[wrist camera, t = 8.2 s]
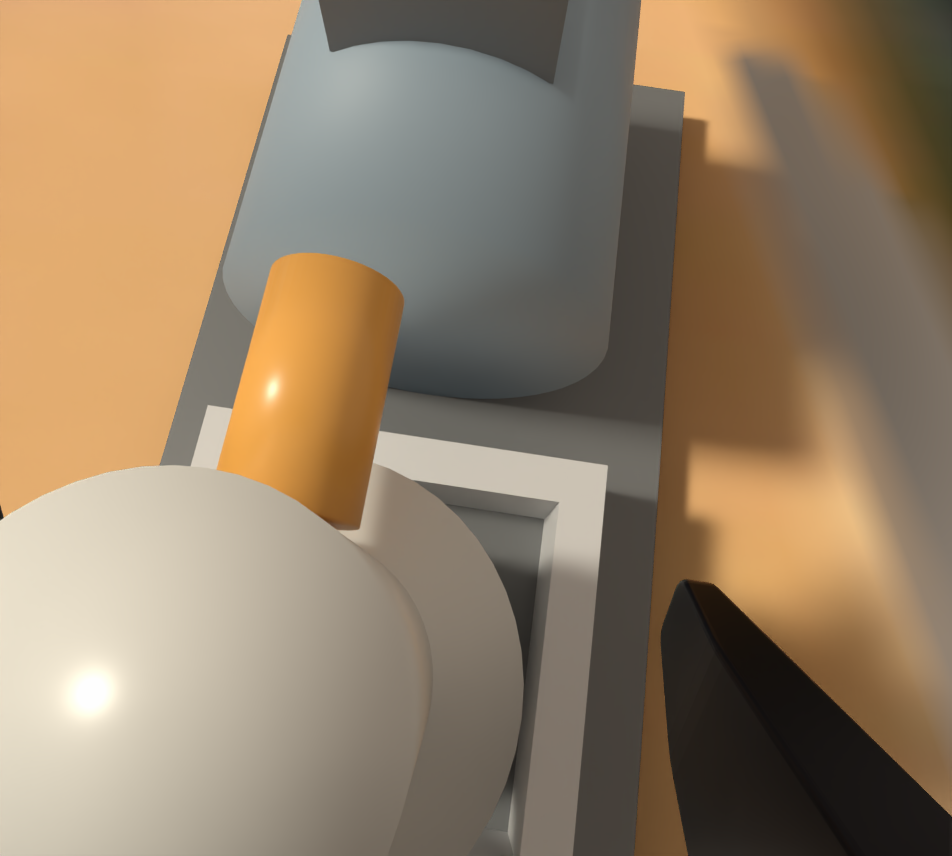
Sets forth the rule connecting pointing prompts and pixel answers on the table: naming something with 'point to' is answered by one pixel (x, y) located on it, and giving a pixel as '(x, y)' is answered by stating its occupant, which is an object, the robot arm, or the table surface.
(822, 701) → the robot arm
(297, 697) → the white rounded upright piece
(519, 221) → the tray with square frame
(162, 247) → the table surface
